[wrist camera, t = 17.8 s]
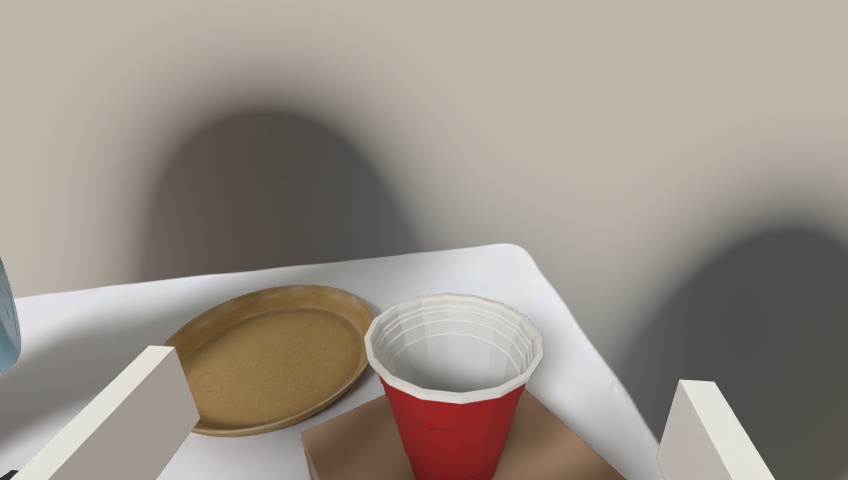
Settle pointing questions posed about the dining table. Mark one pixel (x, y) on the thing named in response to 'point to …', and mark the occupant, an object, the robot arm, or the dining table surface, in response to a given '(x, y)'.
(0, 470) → the dining table surface
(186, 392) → the robot arm
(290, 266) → the dining table surface
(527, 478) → the walnut podium
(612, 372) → the dining table surface
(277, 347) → the plant saucer
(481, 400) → the plastic cup
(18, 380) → the dining table surface
